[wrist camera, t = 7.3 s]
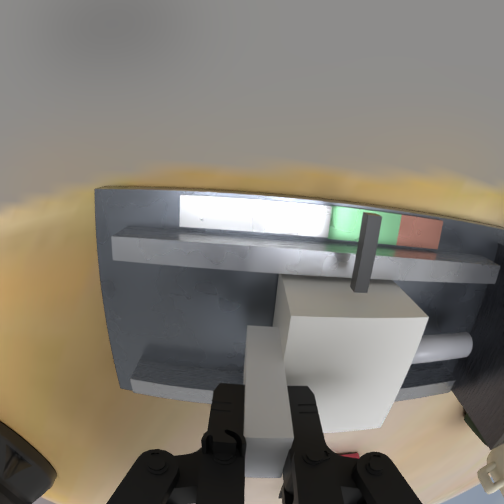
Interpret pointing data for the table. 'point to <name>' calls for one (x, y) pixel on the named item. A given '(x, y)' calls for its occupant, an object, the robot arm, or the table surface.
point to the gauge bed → (266, 281)
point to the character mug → (490, 464)
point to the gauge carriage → (355, 338)
